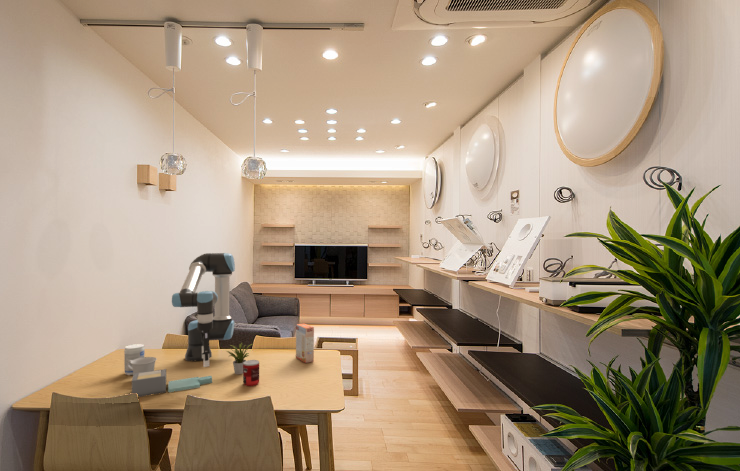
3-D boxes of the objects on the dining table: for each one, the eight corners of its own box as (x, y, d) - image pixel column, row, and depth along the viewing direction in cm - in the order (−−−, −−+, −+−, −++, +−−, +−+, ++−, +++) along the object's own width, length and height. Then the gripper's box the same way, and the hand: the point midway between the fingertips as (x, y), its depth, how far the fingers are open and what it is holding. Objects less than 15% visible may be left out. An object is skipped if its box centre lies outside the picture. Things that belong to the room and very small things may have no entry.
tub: (166, 384, 197) (166, 369, 197) (165, 392, 187) (165, 376, 187) (133, 389, 191) (134, 373, 191) (131, 397, 181) (131, 380, 181)
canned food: (245, 380, 202) (245, 359, 202) (260, 380, 203) (260, 359, 203) (241, 386, 195) (241, 364, 195) (257, 386, 195) (257, 364, 195)
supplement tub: (145, 373, 213) (145, 346, 213) (124, 377, 208) (124, 349, 208) (143, 368, 221) (143, 342, 221) (124, 371, 216) (124, 345, 216)
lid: (210, 377, 207) (210, 373, 207) (212, 385, 196) (212, 380, 196) (168, 384, 198) (168, 379, 198) (168, 392, 187) (168, 387, 187)
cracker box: (314, 361, 233) (314, 327, 233) (305, 363, 230) (305, 328, 230) (304, 355, 245) (304, 322, 245) (295, 357, 241) (295, 323, 241)
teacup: (134, 374, 211) (134, 356, 211) (161, 375, 210) (161, 356, 210) (119, 383, 199) (119, 363, 199) (147, 383, 198) (148, 364, 198)
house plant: (247, 365, 226) (247, 337, 226) (259, 371, 216) (259, 342, 216) (223, 371, 216) (223, 342, 216) (234, 378, 206) (234, 347, 206)
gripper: (196, 317, 210) (196, 355, 211) (198, 328, 188) (198, 371, 189) (211, 315, 214) (211, 353, 214) (215, 326, 192) (215, 368, 192)
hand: (205, 362), depth 202 cm, fingers open, 13 cm apart
